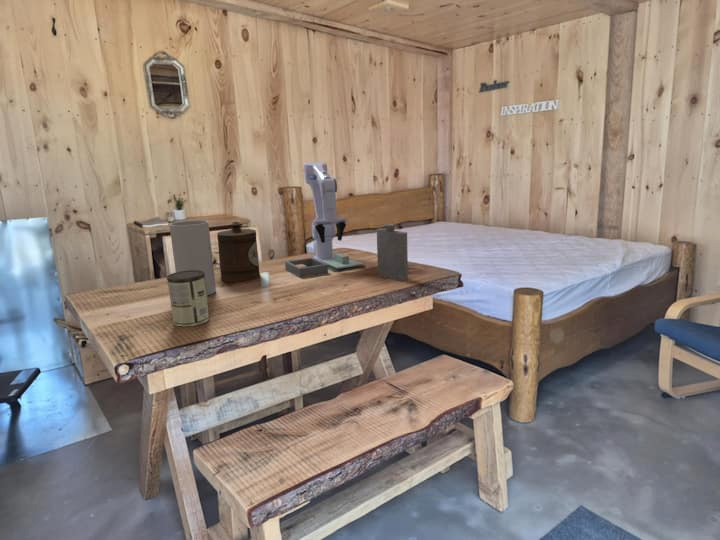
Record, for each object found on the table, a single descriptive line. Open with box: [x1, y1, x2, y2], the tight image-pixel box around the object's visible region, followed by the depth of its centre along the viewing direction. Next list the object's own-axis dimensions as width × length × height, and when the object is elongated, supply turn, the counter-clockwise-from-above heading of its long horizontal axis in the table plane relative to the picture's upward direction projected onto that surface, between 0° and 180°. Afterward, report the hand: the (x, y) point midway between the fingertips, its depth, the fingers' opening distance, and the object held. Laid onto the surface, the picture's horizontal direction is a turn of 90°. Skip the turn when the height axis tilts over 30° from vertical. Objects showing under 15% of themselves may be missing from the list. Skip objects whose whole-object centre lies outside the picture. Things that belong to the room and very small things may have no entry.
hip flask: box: [376, 223, 409, 282], centre depth 180 cm, size 16×4×20 cm, turn 36°
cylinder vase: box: [169, 219, 217, 297], centre depth 167 cm, size 12×12×25 cm
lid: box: [321, 252, 364, 269], centre depth 203 cm, size 16×12×4 cm
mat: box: [328, 264, 367, 273], centre depth 203 cm, size 16×14×1 cm
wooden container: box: [216, 221, 261, 283], centre depth 188 cm, size 15×15×22 cm
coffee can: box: [166, 270, 211, 328], centre depth 140 cm, size 10×10×14 cm
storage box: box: [284, 257, 329, 278], centre depth 195 cm, size 16×12×4 cm
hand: (331, 241), depth 201 cm, fingers open, 7 cm apart
